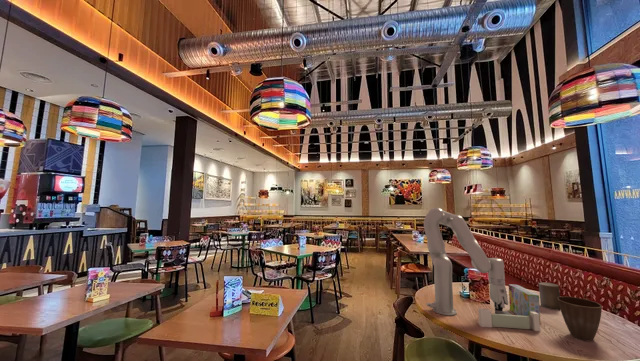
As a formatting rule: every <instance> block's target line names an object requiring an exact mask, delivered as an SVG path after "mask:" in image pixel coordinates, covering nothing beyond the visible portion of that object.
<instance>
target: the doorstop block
mask: <svg viewBox="0 0 640 361" xmlns="http://www.w3.org/2000/svg"><path fill="white" fill-rule="evenodd" d="M494 314H503V315H513V314H512V313H510V311H507V310H503V311H496V310H495V309H494Z"/></svg>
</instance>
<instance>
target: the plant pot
mask: <svg viewBox="0 0 640 361" xmlns="http://www.w3.org/2000/svg"><path fill="white" fill-rule="evenodd" d="M558 302H559V306H560V310H559V311H560V312H561V315H562V318H563V321H564V323H565V325H566V327H567V329H568V331H569V333H570V335H571V336H572V337H574V338H576V339H579V340H582V341H587V342H592V341H594V340H595V337H596V335H597V332H598V329H599V327H600V322H601V317H602V311H603V310H602V309H603V305H601V303H598V302H597V301H594V300H593V301H592V300H590V299H585V298H580V297H574V296H560V297H558Z"/></svg>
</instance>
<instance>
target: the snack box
mask: <svg viewBox="0 0 640 361" xmlns="http://www.w3.org/2000/svg"><path fill="white" fill-rule="evenodd" d="M508 294H509V295H508V296H509V297H508V300H509V301H508V302H509V311H511V312H512V313H514V314H515V315H519V316H527V315H529V316H530V311H531V312H536V313H538V314H539V320H540V321H541V309H540V308H541V307H540V306H541V304H540V294H537V293H535V292H534V291H531V290H529V289H527V288H525V287H523V286H521V285H519V284H514V283H513V284H511V283H510V284H508ZM540 326H541V322H540Z"/></svg>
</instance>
